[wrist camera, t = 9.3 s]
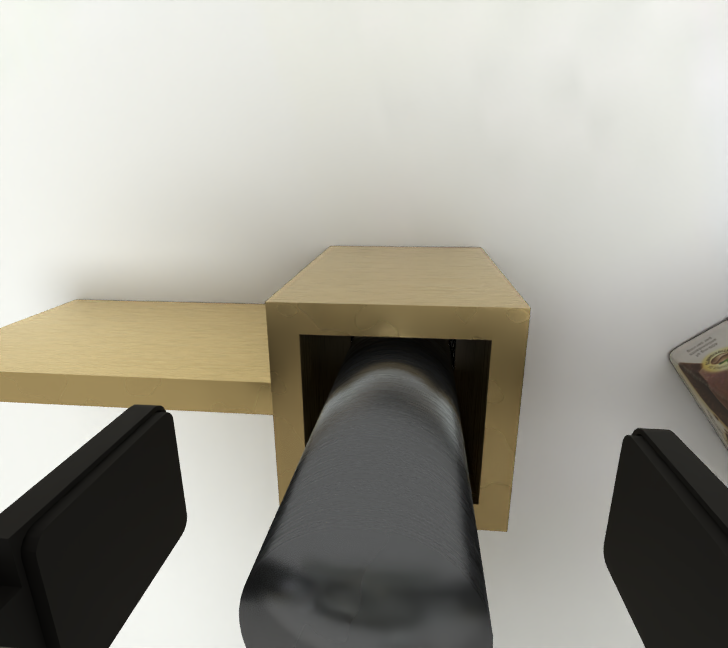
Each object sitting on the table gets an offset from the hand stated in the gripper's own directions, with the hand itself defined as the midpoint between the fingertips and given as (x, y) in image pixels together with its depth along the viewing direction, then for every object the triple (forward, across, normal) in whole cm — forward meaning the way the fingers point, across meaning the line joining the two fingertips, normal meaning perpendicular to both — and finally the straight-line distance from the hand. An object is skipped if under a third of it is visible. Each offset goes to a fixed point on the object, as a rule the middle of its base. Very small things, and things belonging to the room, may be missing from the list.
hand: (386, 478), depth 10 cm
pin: (+11, 0, 0) cm, 11 cm away
